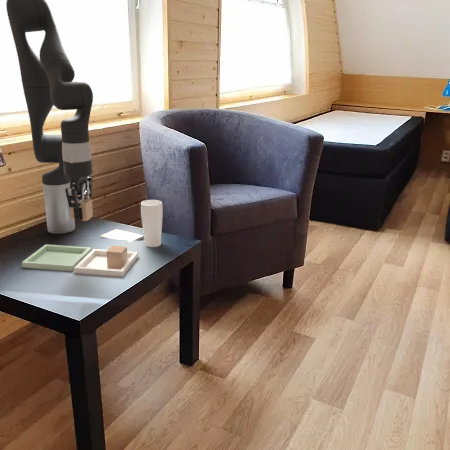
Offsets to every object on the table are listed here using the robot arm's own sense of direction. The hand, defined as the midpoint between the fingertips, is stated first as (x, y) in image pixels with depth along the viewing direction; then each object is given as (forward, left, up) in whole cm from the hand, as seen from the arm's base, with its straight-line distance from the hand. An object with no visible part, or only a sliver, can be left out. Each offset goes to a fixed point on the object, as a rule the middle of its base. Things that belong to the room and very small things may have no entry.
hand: (82, 216), depth 135 cm
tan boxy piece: (0, 0, 0) cm, 0 cm away
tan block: (+1, +10, -14) cm, 17 cm away
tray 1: (0, -8, -15) cm, 17 cm away
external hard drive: (-23, +3, -16) cm, 28 cm away
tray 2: (+1, +7, -15) cm, 16 cm away
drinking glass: (-17, +16, -15) cm, 27 cm away
